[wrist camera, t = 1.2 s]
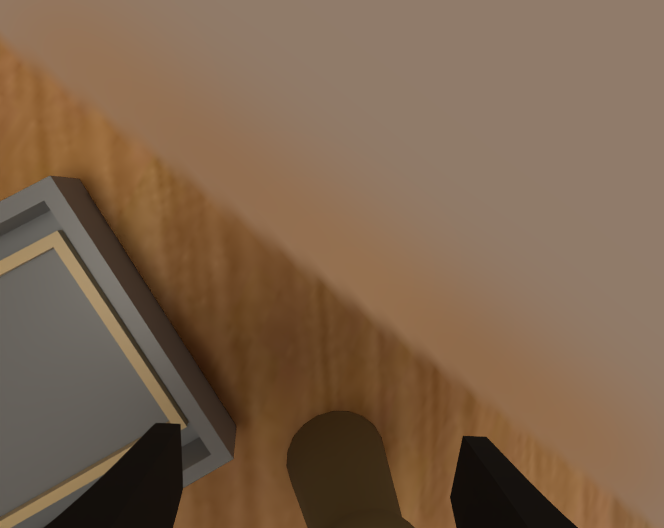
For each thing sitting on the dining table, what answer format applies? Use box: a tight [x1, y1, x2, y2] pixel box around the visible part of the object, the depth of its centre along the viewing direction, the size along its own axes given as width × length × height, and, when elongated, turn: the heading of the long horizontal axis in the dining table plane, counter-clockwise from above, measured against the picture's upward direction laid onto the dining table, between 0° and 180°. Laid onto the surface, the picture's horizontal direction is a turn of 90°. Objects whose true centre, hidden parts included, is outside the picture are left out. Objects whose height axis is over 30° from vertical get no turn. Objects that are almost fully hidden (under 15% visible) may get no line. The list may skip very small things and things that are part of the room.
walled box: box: [0, 176, 236, 528], centre depth 24 cm, size 16×16×4 cm
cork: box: [287, 411, 414, 528], centre depth 23 cm, size 6×6×11 cm
